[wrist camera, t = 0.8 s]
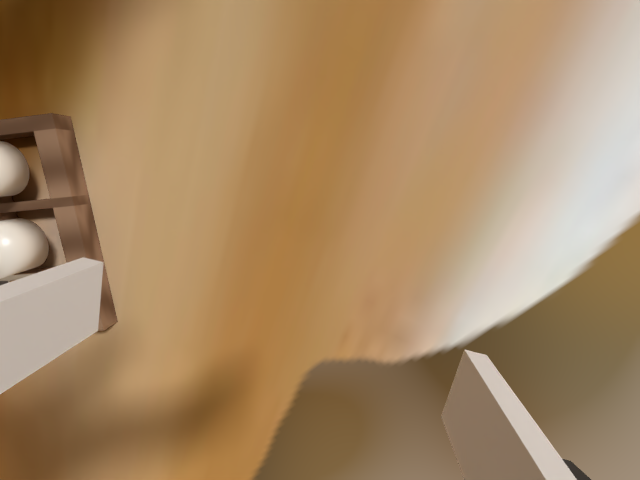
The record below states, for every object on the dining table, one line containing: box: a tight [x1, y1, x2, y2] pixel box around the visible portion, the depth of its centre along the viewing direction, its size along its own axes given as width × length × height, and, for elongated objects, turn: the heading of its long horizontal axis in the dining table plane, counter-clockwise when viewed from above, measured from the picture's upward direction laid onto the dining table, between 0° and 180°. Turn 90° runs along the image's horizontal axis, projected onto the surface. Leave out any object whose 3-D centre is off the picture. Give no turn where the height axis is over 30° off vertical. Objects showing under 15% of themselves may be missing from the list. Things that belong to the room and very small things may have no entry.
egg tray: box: [0, 113, 118, 331], centre depth 39 cm, size 24×20×3 cm
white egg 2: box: [0, 218, 49, 279], centre depth 35 cm, size 6×6×4 cm
